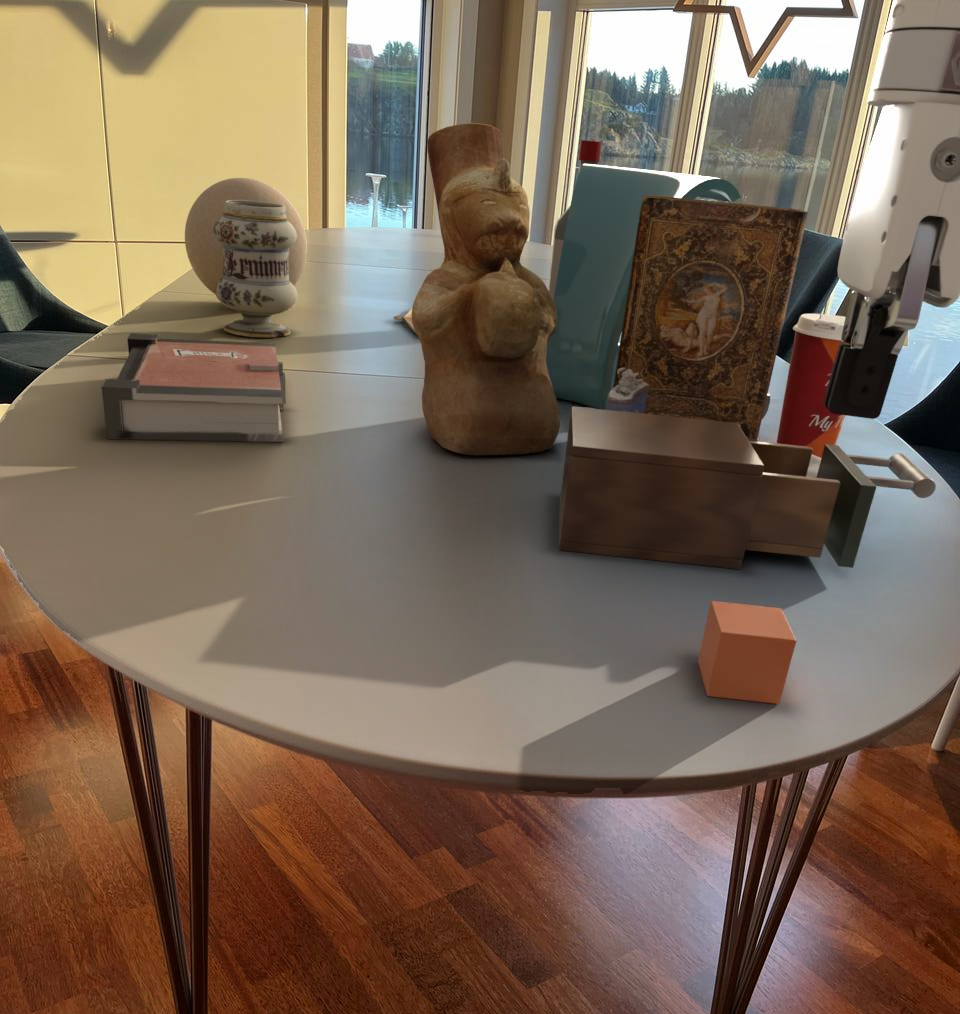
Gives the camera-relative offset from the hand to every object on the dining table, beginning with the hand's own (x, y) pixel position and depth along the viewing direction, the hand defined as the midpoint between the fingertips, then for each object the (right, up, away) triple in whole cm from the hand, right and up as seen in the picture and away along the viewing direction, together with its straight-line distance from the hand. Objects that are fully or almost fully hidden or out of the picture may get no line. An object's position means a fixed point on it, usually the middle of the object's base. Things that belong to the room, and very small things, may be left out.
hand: (850, 412), depth 60 cm
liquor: (-7, +44, +115) cm, 124 cm away
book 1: (-54, +11, +45) cm, 71 cm away
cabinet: (-9, -5, +21) cm, 24 cm away
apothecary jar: (-58, +32, +84) cm, 107 cm away
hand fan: (-31, +40, +103) cm, 114 cm away
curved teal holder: (-1, +16, +63) cm, 65 cm away
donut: (+7, 0, +35) cm, 36 cm away
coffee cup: (+13, +6, +46) cm, 48 cm away
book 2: (-1, +7, +46) cm, 46 cm away
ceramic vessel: (-24, +9, +45) cm, 52 cm away
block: (-7, -17, -1) cm, 19 cm away
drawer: (+3, -6, +20) cm, 21 cm away
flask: (-10, +1, +34) cm, 35 cm away
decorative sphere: (-64, +43, +104) cm, 129 cm away
